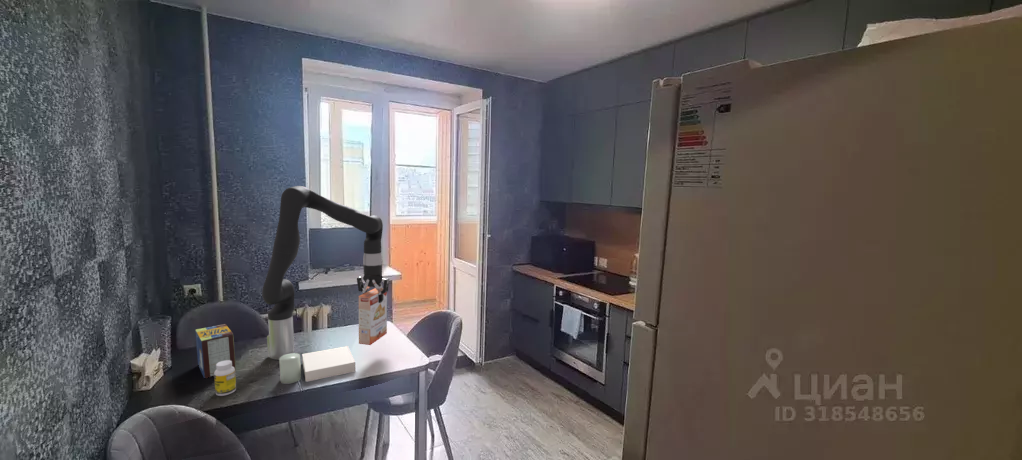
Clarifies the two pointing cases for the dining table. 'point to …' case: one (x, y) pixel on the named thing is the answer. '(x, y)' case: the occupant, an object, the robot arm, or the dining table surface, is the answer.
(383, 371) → the dining table surface
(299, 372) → the pale green rounded block
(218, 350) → the protein box
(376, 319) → the cracker box
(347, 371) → the block
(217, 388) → the pill bottle
